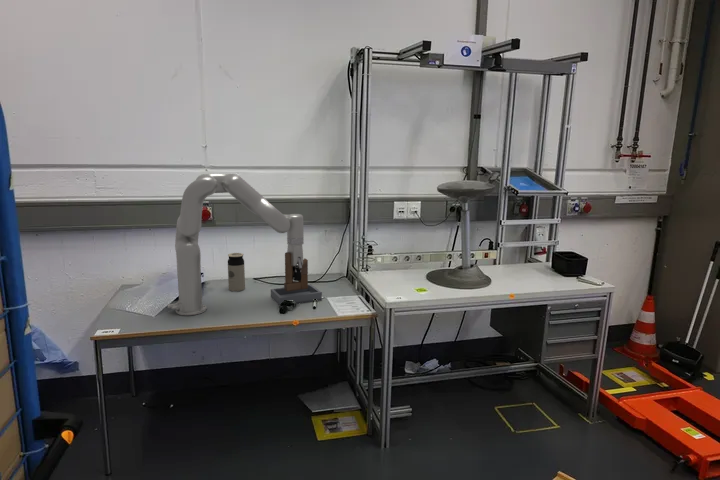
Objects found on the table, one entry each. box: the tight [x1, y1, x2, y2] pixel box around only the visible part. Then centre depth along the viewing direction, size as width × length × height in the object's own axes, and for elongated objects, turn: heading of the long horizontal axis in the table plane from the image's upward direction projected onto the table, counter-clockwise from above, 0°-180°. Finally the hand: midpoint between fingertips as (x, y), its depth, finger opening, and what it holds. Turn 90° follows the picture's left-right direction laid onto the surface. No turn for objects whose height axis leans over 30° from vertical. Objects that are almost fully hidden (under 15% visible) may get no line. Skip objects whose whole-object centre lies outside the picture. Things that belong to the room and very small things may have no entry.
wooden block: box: [283, 251, 309, 291], centre depth 226 cm, size 4×11×18 cm, turn 120°
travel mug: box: [227, 252, 246, 292], centre depth 239 cm, size 8×8×18 cm
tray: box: [270, 283, 323, 306], centre depth 228 cm, size 20×14×4 cm
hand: (295, 278), depth 226 cm, fingers closed on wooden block, 3 cm apart
